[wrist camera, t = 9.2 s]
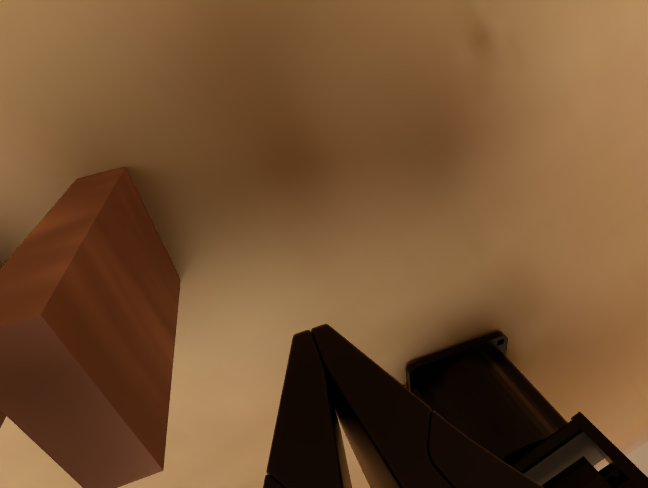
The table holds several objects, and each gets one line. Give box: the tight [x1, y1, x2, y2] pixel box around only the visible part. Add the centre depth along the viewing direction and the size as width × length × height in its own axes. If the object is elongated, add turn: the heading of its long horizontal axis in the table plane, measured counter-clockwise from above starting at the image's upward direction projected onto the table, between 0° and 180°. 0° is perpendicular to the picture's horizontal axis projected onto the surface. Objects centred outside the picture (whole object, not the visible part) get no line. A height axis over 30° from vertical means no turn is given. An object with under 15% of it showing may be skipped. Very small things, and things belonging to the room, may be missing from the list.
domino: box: [0, 167, 180, 488], centre depth 11 cm, size 2×5×8 cm, turn 11°
